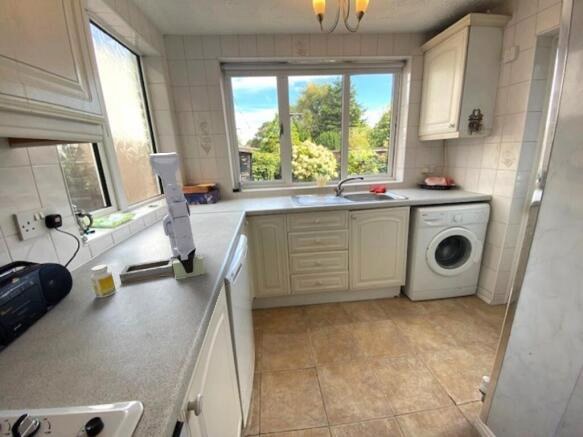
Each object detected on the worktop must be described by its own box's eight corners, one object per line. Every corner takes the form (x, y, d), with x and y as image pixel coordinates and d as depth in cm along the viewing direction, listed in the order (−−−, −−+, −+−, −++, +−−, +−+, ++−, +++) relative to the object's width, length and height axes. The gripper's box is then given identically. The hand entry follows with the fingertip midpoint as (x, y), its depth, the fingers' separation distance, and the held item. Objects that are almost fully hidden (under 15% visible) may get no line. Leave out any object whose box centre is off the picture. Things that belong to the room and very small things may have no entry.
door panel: (176, 275, 93) (173, 260, 91) (205, 270, 95) (202, 255, 94) (175, 279, 90) (172, 263, 88) (205, 273, 93) (202, 258, 91)
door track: (128, 273, 97) (126, 265, 96) (176, 265, 101) (174, 257, 100) (121, 283, 89) (119, 274, 89) (173, 274, 94) (171, 266, 93)
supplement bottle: (92, 299, 80) (84, 271, 78) (103, 290, 86) (95, 264, 83) (110, 297, 81) (102, 270, 78) (119, 288, 86) (112, 262, 84)
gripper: (174, 231, 94) (180, 264, 98) (167, 243, 81) (175, 281, 85) (194, 228, 96) (200, 261, 100) (191, 240, 83) (197, 277, 86)
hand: (190, 270), depth 92 cm, fingers closed on door panel, 3 cm apart
